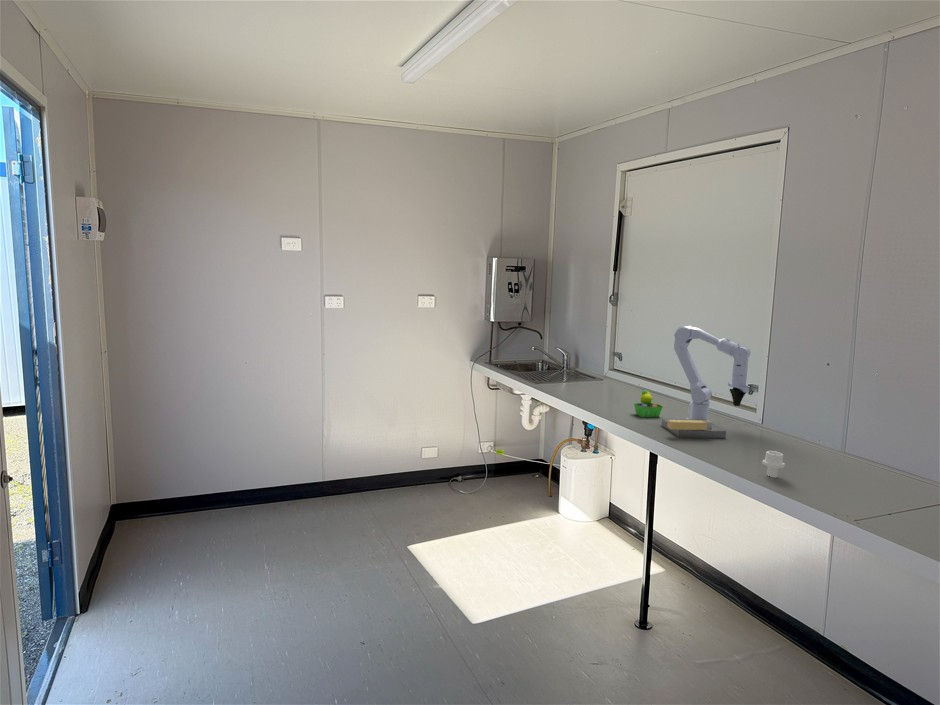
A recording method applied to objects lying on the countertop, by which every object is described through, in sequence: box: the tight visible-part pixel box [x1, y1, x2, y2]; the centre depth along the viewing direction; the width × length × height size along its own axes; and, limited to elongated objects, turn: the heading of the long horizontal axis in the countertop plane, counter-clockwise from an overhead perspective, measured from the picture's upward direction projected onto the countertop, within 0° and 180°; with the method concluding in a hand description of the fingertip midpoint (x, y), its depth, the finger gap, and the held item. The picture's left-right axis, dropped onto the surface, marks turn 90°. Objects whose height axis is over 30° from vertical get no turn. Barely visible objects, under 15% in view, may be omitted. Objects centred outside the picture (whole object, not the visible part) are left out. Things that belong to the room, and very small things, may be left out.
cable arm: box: [667, 419, 713, 430], centre depth 257 cm, size 18×4×3 cm, turn 96°
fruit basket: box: [633, 389, 664, 418], centre depth 291 cm, size 11×9×11 cm
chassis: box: [661, 418, 727, 439], centre depth 266 cm, size 18×20×4 cm
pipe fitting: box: [761, 450, 786, 478], centre depth 213 cm, size 6×7×8 cm
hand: (736, 405), depth 272 cm, fingers closed
